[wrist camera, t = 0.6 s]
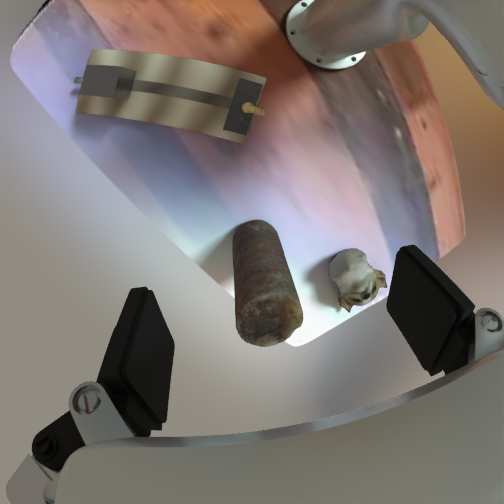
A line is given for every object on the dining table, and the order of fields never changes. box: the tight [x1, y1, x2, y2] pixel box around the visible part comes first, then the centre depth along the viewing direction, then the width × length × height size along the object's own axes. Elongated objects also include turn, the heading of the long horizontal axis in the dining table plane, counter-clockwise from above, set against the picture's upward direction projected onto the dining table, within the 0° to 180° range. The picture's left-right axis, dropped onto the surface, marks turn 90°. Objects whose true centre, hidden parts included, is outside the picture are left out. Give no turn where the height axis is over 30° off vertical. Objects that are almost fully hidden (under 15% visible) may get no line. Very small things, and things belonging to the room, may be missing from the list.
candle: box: [233, 220, 303, 347], centre depth 36 cm, size 8×7×20 cm
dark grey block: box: [73, 65, 137, 98], centre depth 26 cm, size 10×4×6 cm, turn 72°
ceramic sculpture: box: [328, 248, 387, 313], centre depth 47 cm, size 11×9×15 cm
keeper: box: [223, 78, 265, 136], centre depth 31 cm, size 4×7×6 cm, turn 163°
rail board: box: [76, 49, 267, 144], centre depth 31 cm, size 26×10×2 cm, turn 72°
